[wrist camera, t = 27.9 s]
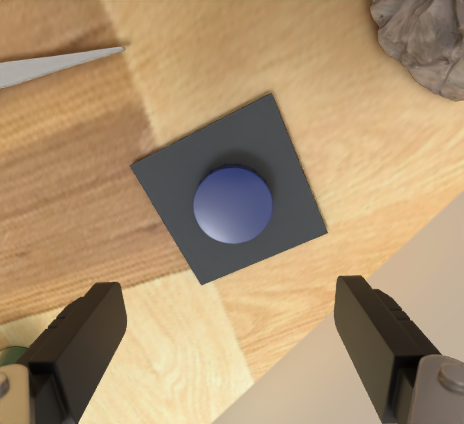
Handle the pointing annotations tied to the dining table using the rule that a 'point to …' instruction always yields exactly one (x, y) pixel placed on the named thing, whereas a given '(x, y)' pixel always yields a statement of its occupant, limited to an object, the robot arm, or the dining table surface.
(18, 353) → the jar
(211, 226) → the jar lid
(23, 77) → the scissors
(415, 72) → the rock
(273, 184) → the mat
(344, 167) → the dining table surface
